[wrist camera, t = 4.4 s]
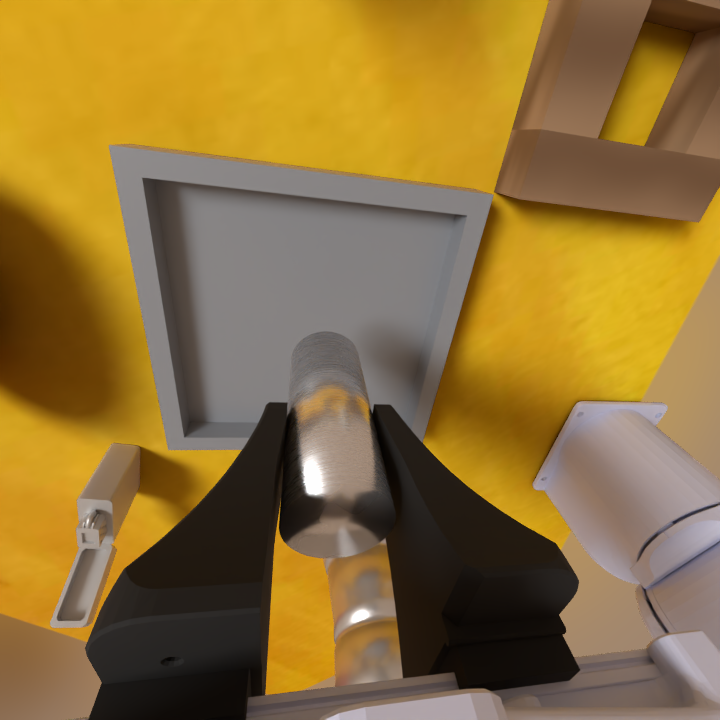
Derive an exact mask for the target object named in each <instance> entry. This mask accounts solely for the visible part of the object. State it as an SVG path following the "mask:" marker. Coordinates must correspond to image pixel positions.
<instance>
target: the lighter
mask: <svg viewBox="0 0 720 720" xmlns="http://www.w3.org/2000/svg"><path fill="white" fill-rule="evenodd" d="M139 487H140V447H139V446H136V445H127V444H118V443H113V444H111V445H110V447H109V449H108V450H107V452H106V454H105V455H104V457H103V458H102V460H101V462H100V463H99V465H98V467H97V468H96V470H95V471H94V473H93V475H92V476H91V478H90V480H89V481H88V483H87V484H86V486H85V488H84V489H83V491H82V493H81V494H80V496H79V497H78V499H77V507H78V516H79V524H78V526H77V528H76V533H77V542H78V547H79V550H78V553H77V555H76V558H75V560H74V563H73V565H72V568H71V571H70V573H69V576H68V578H67V581H66V583H65V586H64V589H63V591H62V594H61V596H60V599H59V601H58V604H57V607H56V609H55V612H54V614H53V617H52V619H51V622H50V625H51V627H52V628H64V627H86V626H88V625H90V624H91V623H92V622H93V619H94V616H95V613H96V610H97V607H98V604H99V601H100V598H101V595H102V593H103V590H104V587H105V584H106V581H107V578H108V575H109V572H110V569H111V566H112V563H113V560H114V557H115V554H116V551H117V549H116V548H115V546H113V545H111V544H112V543H114V541H115V539H116V536H117V534H118V532H119V530H120V528H121V526H122V523H123V521H124V519H125V517H126V515H127V513H128V510H129V508H130V506H131V504H132V502H133V500H134V497H135V495H136V493H137V491H138V489H139Z"/></svg>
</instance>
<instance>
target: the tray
mask: <svg viewBox="0 0 720 720" xmlns="http://www.w3.org/2000/svg"><path fill="white" fill-rule="evenodd" d="M109 149H110V154H111V159H112V165H113V170H114V175H115V180H116V185H117V190H118V195H119V200H120V205H121V211H122V216H123V221H124V226H125V231H126V236H127V241H128V246H129V251H130V256H131V262H132V267H133V272H134V277H135V282H136V287H137V292H138V297H139V302H140V308H141V313H142V318H143V323H144V328H145V333H146V338H147V343H148V348H149V354H150V359H151V364H152V369H153V374H154V379H155V384H156V389H157V394H158V399H159V405H160V410H161V415H162V420H163V425H164V430H165V435H166V440H167V445H168V450H242V449H243V448H244V446H245V445H246V443H247V442H248V440H249V438H250V437H251V435H252V433H253V432H254V430H255V428H256V426H257V424H258V422H259V420H260V418H261V416H262V414H263V412H264V409H265V406H266V404H268V403H269V402H288V396H289V382H290V368H291V357H292V353H293V350H294V348H295V347H296V345H297V344H298V343H299V342H300V341H301V340H302V339H304V338H305V337H307V336H308V335H311V334H313V333H317V332H324V331H328V332H335V333H338V334H341V335H343V336H345V337H347V338H348V339H349V340H350V341H351V342H352V343H353V344H354V345H355V347H356V349H357V351H358V354H359V359H360V363H361V367H362V371H363V376H364V380H365V384H366V388H367V393H368V397H369V401H370V406H371V410H372V413H373V408H374V404H389V405H391V406H392V407H393V408H394V409H395V410H396V412H397V413H398V414H399V415H400V417H401V418H402V419H403V420H404V422H405V423H406V424H407V425H408V427H409V428H410V429H411V430H412V431H413V433H414V434H415V435H416V436H417V437H418V438H419V440H420V441H421V442H423V439H424V435H425V432H426V428H427V425H428V421H429V418H430V414H431V411H432V407H433V404H434V400H435V397H436V394H437V390H438V387H439V383H440V380H441V376H442V373H443V369H444V366H445V362H446V359H447V355H448V352H449V348H450V345H451V341H452V338H453V334H454V331H455V327H456V324H457V320H458V317H459V314H460V310H461V307H462V303H463V300H464V296H465V293H466V289H467V286H468V282H469V279H470V275H471V272H472V268H473V265H474V261H475V258H476V254H477V251H478V247H479V244H480V241H481V237H482V234H483V230H484V227H485V223H486V220H487V216H488V213H489V209H490V206H491V202H492V199H493V195H492V194H489V193H486V192H483V191H479V190H476V189H469V188H461V187H454V186H446V185H438V184H431V183H423V182H416V181H408V180H400V179H393V178H385V177H377V176H370V175H362V174H355V173H347V172H339V171H332V170H324V169H316V168H309V167H301V166H294V165H286V164H278V163H271V162H263V161H256V160H248V159H240V158H233V157H225V156H217V155H210V154H202V153H195V152H187V151H179V150H172V149H164V148H156V147H149V146H141V145H134V144H120V145H109ZM287 410H288V404H287Z"/></svg>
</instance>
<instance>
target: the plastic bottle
mask: <svg viewBox="0 0 720 720" xmlns="http://www.w3.org/2000/svg"><path fill="white" fill-rule="evenodd" d="M323 561H324V565H325V568H326V572H327V575H328V582H329V589H330V597H331V604H332V612H333V619H334V641H335V644H336V646H335V687H337V686H345V685H354V684H362V683H370V682H378V681H386V680H394V679H403V675H402V665H401V655H400V645H399V635H398V627H397V618H396V610H395V601H394V594H393V586H392V579H391V571H390V564H389V558H388V551H387V544H386V539H384V540H383V541H381V542H380V543H379V544H377V545H376V546H374V547H372V548H371V549H369V550H366V551H364V552H362V553H359V554H356V555H352V556H347V557H342V558H323Z"/></svg>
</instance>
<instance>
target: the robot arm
mask: <svg viewBox="0 0 720 720" xmlns="http://www.w3.org/2000/svg"><path fill="white" fill-rule="evenodd" d="M287 404H288V402H269V403H268V404H266V406H265V409H264V412H263V414H262V416H261V418H260V420H259V422H258V424H257V426H256V428H255V430H254V432H253V433H252V435H251V437H250V438H249V440H248V442H247V443H246V445H245V446H244V448H243V449H242V451H241V452H240V454H239V455H238V457H237V458H236V459H235V461H234V462H233V464H232V465H231V466H230V468H229V469H228V470H227V472H226V473H225V474H224V475H223V477H222V478H221V479H220V480H219V481H218V483H217V484H216V485H215V486H214V487H213V489H212V490H211V491H210V492H209V493H208V494H207V495H206V496H205V497H204V498H203V499H202V501H201V502H200V503H199V504H198V505H197V506H196V507H195V508H194V509H193V510H192V511H191V512H190V513H189V514H188V515H187V516H186V517H185V518H183V519H182V520H181V521H180V522H179V523H178V524H177V525H176V526H175V527H174V528H173V529H172V530H171V531H169V532H168V533H167V534H166V535H165V536H164V537H163V538H162V539H160V540H159V541H158V542H157V543H156V544H154V545H153V546H152V547H151V548H150V549H148V550H147V551H146V552H145V553H143V554H142V555H141V556H140V557H138V558H137V559H136V560H135V561H133V562H132V563H131V564H130V565H128V566H127V567H126V568H125V569H124V570H123V571H122V573H121V574H120V576H119V578H118V579H117V581H116V583H115V584H114V586H113V588H112V590H111V591H110V593H109V595H108V597H107V598H106V600H105V602H104V604H103V606H102V608H101V610H100V612H99V615H98V617H97V620H96V622H95V625H94V627H93V630H92V632H91V635H90V637H89V640H88V642H87V644H86V647H85V649H86V654H87V657H88V659H89V661H90V662H91V664H92V666H93V668H94V669H95V671H96V672H97V675H98V676H99V678H100V680H101V682H102V684H101V687H100V689H99V692H98V695H97V698H96V701H95V703H94V706H93V708H92V711H91V714H90V717H85V718H77V719H68V720H720V479H719V478H718V477H716V476H715V475H714V474H713V473H711V472H710V471H709V470H708V469H707V468H705V467H704V466H703V465H702V464H701V463H699V462H698V461H697V460H696V459H694V458H693V457H692V456H690V454H688V453H687V452H686V451H685V450H684V449H682V448H681V447H680V446H679V445H678V444H676V443H675V442H674V441H672V440H671V439H670V438H669V437H668V436H666V435H665V434H664V433H663V432H662V431H661V430H659V429H658V428H657V427H656V425H657V423H658V422H659V421H660V419H661V418H662V417H663V415H664V414H665V412H666V411H667V409H668V406H667V405H665V404H664V403H654V402H653V403H652V402H651V403H650V402H606V401H580V402H578V403H576V404H575V406H574V408H573V409H572V411H571V413H570V415H569V417H568V419H567V421H566V422H565V424H564V426H563V428H562V430H561V432H560V434H559V435H558V437H557V439H556V441H555V443H554V445H553V447H552V448H551V450H550V452H549V454H548V456H547V458H546V460H545V461H544V463H543V465H542V467H541V469H540V471H539V473H538V474H537V476H536V478H535V480H534V482H533V484H532V486H533V487H534V489H535V490H544V491H545V492H546V494H547V495H548V497H549V498H550V500H551V501H552V503H553V504H554V505H555V507H556V508H557V510H558V511H559V513H560V514H561V516H562V517H563V519H564V520H565V522H566V523H567V525H568V526H569V528H570V529H571V530H572V532H573V533H574V535H575V536H576V538H577V539H578V541H579V542H580V544H581V545H582V547H583V548H584V549H585V551H586V552H587V553H588V554H589V556H590V557H591V558H592V559H593V560H594V561H595V562H596V563H598V564H599V565H600V566H601V567H602V568H604V569H605V570H606V571H608V572H609V573H610V574H612V575H614V576H615V577H617V578H619V579H621V580H624V581H627V582H630V583H633V584H639V585H638V586H637V588H636V591H635V592H636V600H637V603H638V609H639V612H640V615H641V617H642V620H643V622H644V624H645V626H646V628H647V629H648V631H649V633H650V634H651V636H652V637H653V639H654V640H653V641H651V642H650V643H649V644H648V645H647V648H646V649H639V650H631V651H623V652H614V653H607V654H598V655H590V656H582V657H573V655H572V653H571V651H570V649H569V647H568V645H567V643H566V641H565V639H564V637H563V635H562V634H565V633H566V628H565V626H564V624H563V622H562V620H561V618H560V616H559V614H560V613H561V611H562V610H563V609H564V608H565V607H566V606H567V604H568V603H569V602H570V601H571V599H572V598H573V597H574V595H575V594H576V592H577V589H578V584H579V580H578V578H577V576H576V574H575V573H574V571H573V569H572V568H571V566H570V565H569V563H568V561H567V559H566V558H565V556H564V555H563V553H562V552H561V550H560V549H559V547H558V546H557V544H556V543H554V542H552V541H551V540H549V539H547V538H545V537H544V536H542V535H540V534H538V533H536V532H535V531H533V530H531V529H529V528H527V527H526V526H524V525H522V524H521V523H519V522H517V521H516V520H514V519H513V518H511V517H510V516H508V515H507V514H505V513H503V512H502V511H500V510H499V509H497V508H496V507H495V506H493V505H492V504H490V503H489V502H488V501H486V500H485V499H484V498H482V497H481V496H480V495H478V494H477V493H475V492H474V491H473V490H472V489H470V488H469V487H468V486H467V485H465V484H464V483H463V482H462V481H461V480H460V479H458V478H457V477H456V476H455V475H454V474H453V473H452V472H450V471H449V470H448V469H447V468H446V467H445V466H444V465H443V464H442V463H441V462H440V461H439V460H438V459H437V458H436V457H435V456H434V455H433V454H432V453H431V452H430V451H429V450H428V449H427V448H426V446H425V445H424V444H423V443H422V442H421V441H420V440H419V438H418V437H417V436H416V435H415V434H414V433H413V431H412V430H411V429H410V428H409V427H408V425H407V424H406V423H405V422H404V420H403V419H402V418H401V417H400V415H399V414H398V413H397V412H396V410H395V409H394V408H393V407H392V406H391V405H389V404H374V408H373V413H372V414H373V418H374V423H375V427H376V431H377V435H378V440H379V444H380V448H381V452H382V457H383V461H384V465H385V470H386V474H387V478H388V482H389V487H390V491H391V495H392V499H393V504H394V508H395V512H396V520H395V524H394V527H393V529H392V531H391V532H390V533H389V535H388V536H387V537H386V538H385V539H386V544H387V551H388V558H389V564H390V571H391V579H392V586H393V594H394V601H395V610H396V618H397V627H398V635H399V645H400V655H401V665H402V675H403V679H394V680H386V681H378V682H370V683H362V684H354V685H345V686H337V687H330V688H321V689H313V690H305V691H297V692H288V693H280V694H272V695H265V689H266V671H267V654H268V637H269V620H270V603H271V587H272V570H273V554H274V543H275V534H276V527H277V521H278V514H279V508H280V501H281V493H282V479H283V465H284V452H285V439H286V427H287Z"/></svg>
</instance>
